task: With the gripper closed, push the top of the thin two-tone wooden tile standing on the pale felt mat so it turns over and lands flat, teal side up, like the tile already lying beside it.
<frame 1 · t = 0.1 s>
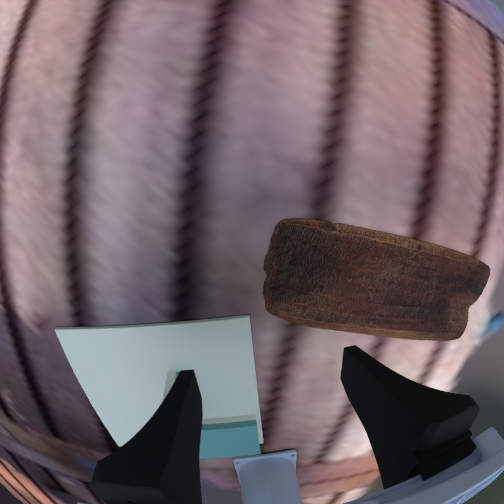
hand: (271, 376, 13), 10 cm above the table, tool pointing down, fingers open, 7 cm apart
flat tile: (225, 433, 27), resting on felt mat
wooden tablet: (397, 285, 25), on the table
felt mat: (166, 398, 25), on the table
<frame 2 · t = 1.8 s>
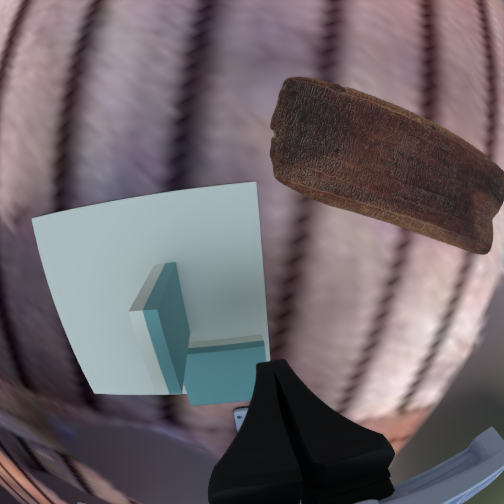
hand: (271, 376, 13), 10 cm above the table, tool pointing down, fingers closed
tile: (172, 300, 21), resting on felt mat
flat tile: (224, 367, 24), resting on felt mat
wooden tablet: (416, 172, 21), on the table
felt mat: (152, 311, 22), on the table
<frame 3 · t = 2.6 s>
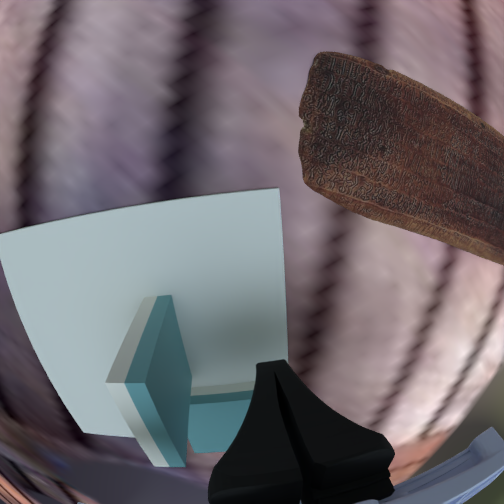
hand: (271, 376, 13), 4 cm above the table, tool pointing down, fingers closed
tile: (169, 340, 16), resting on felt mat
flat tile: (234, 412, 19), resting on felt mat
wooden tablet: (463, 178, 16), on the table
felt mat: (143, 351, 17), on the table
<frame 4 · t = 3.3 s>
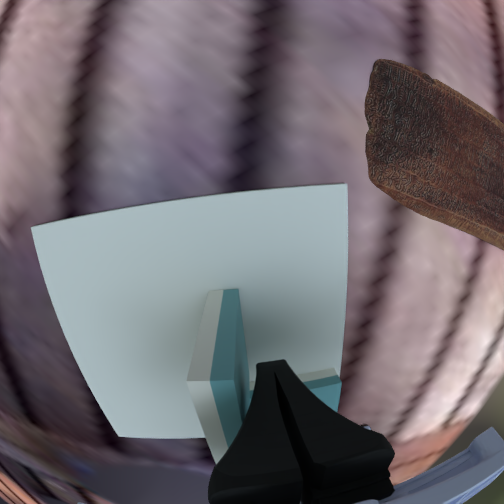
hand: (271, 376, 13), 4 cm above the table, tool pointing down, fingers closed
tile: (230, 335, 16), resting on felt mat, touching gripper
flat tile: (284, 405, 19), resting on felt mat
wooden tablet: (490, 178, 17), on the table
felt mat: (200, 348, 17), on the table
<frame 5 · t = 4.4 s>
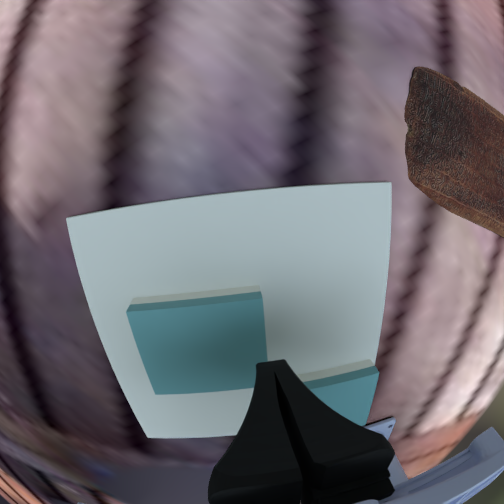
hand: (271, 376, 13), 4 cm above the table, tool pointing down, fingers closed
tile: (264, 338, 16), point 1 cm above the table, tilted 90°, touching felt mat
flat tile: (321, 398, 19), resting on felt mat
felt mat: (245, 343, 17), on the table
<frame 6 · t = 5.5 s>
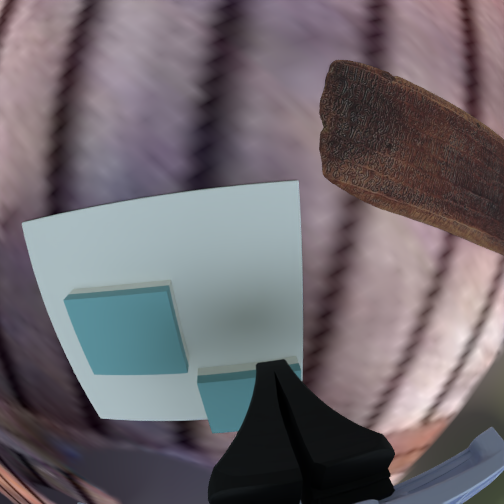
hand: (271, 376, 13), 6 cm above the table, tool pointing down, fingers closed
tile: (179, 328, 17), point 1 cm above the table, tilted 90°, touching felt mat
flat tile: (250, 391, 21), resting on felt mat
wooden tablet: (461, 173, 18), on the table
felt mat: (168, 332, 19), on the table
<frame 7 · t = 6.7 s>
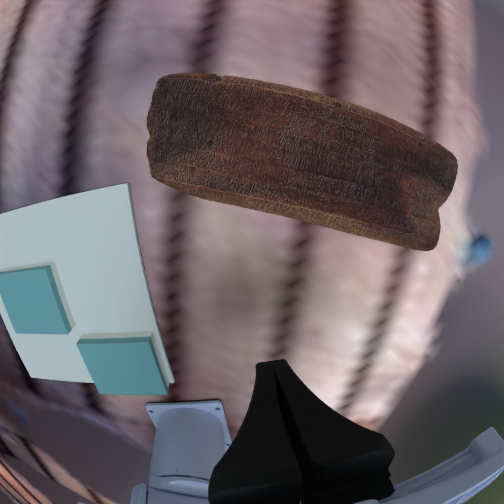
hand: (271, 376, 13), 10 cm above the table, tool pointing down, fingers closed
tile: (60, 298, 20), point 1 cm above the table, tilted 90°, touching felt mat
flat tile: (125, 360, 23), resting on felt mat
wooden tablet: (321, 158, 21), on the table
felt mat: (60, 303, 22), on the table
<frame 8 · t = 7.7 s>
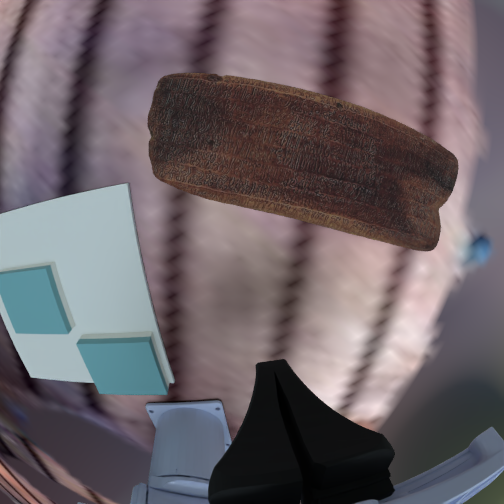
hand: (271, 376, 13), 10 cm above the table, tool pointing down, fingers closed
tile: (60, 298, 20), point 1 cm above the table, tilted 90°, touching felt mat
flat tile: (125, 360, 23), resting on felt mat
wooden tablet: (322, 158, 21), on the table
felt mat: (60, 303, 22), on the table
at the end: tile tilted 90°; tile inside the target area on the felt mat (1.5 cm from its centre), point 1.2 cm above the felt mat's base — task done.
